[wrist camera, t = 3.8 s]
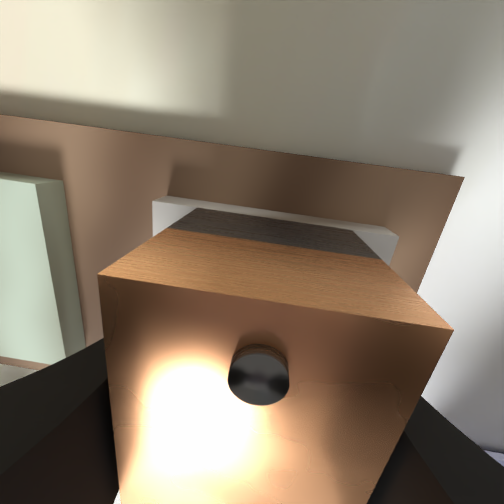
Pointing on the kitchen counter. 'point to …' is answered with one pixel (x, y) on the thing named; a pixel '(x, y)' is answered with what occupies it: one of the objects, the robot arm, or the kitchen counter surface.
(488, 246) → the kitchen counter surface
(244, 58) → the kitchen counter surface
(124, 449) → the plate
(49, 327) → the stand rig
